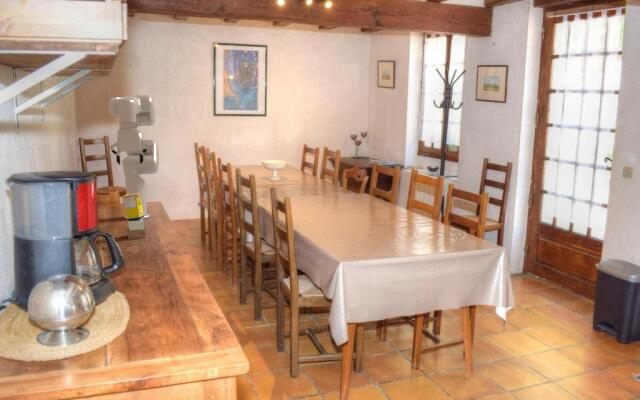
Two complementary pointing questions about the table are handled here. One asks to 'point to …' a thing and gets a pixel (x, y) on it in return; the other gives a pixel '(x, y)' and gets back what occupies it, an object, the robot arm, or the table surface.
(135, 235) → the walnut slab
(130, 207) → the supplement box
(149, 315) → the table surface
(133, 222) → the cream square block
